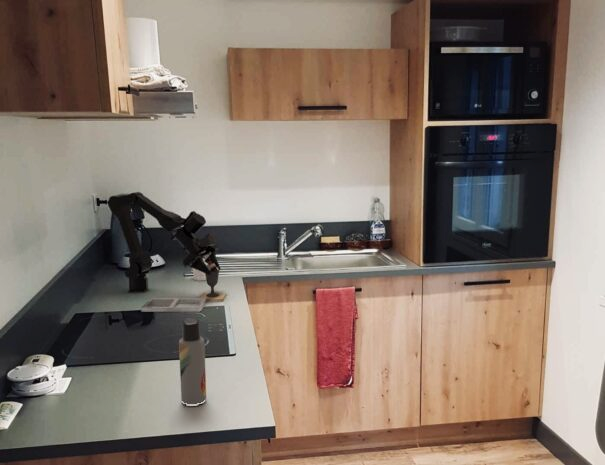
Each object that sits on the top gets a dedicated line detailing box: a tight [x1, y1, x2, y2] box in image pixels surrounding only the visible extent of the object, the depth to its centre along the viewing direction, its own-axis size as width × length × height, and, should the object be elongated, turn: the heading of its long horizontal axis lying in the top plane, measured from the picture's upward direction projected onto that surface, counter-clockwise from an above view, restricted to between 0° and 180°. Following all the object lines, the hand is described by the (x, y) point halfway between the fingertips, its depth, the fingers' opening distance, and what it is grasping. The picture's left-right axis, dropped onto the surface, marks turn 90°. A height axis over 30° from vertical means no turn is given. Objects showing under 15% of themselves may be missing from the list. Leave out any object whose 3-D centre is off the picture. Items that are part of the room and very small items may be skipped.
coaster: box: [198, 291, 227, 303], centre depth 209 cm, size 9×9×1 cm
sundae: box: [205, 256, 221, 297], centre depth 208 cm, size 7×7×15 cm
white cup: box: [192, 258, 208, 282], centre depth 237 cm, size 8×8×10 cm
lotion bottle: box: [178, 316, 207, 404], centre depth 126 cm, size 6×6×20 cm
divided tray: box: [140, 298, 207, 313], centre depth 198 cm, size 21×11×2 cm, turn 89°
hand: (215, 271), depth 207 cm, fingers open, 7 cm apart
